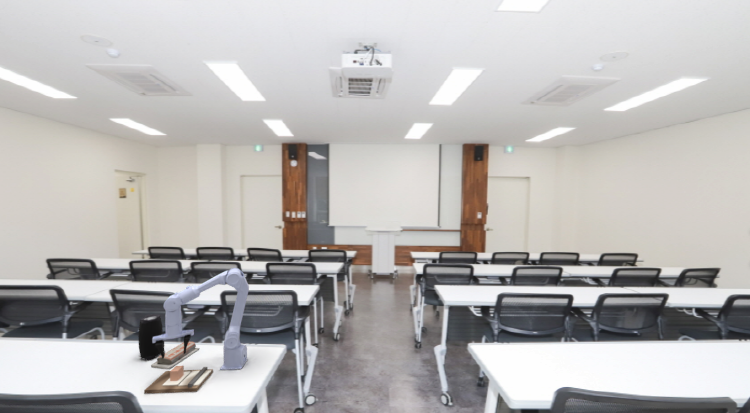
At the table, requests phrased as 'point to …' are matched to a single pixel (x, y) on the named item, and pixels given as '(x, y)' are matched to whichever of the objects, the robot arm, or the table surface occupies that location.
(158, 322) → the portable speaker
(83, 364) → the table surface
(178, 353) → the packaged product
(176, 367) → the stub
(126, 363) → the table surface
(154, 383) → the board
